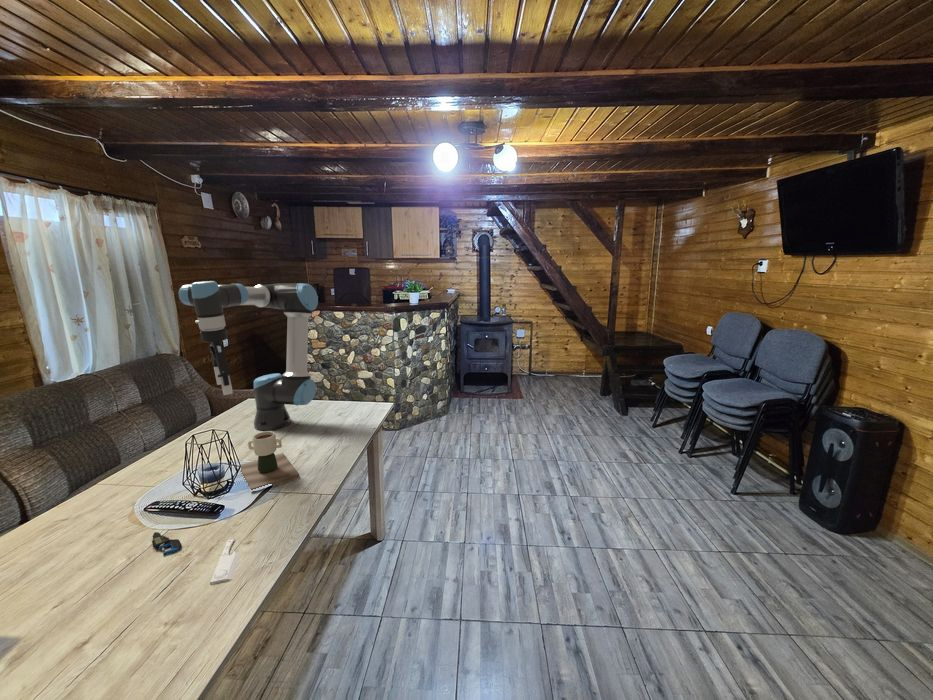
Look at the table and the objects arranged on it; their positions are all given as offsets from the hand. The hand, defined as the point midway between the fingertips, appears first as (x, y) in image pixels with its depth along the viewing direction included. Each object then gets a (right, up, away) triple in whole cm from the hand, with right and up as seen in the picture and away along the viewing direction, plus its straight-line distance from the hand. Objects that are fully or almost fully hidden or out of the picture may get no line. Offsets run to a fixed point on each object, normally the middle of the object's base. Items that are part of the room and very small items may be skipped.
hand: (224, 388), depth 138 cm
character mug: (+14, -29, +3) cm, 32 cm away
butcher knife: (+25, -39, -38) cm, 60 cm away
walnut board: (+14, -30, +3) cm, 33 cm away
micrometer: (+4, -38, -32) cm, 50 cm away
